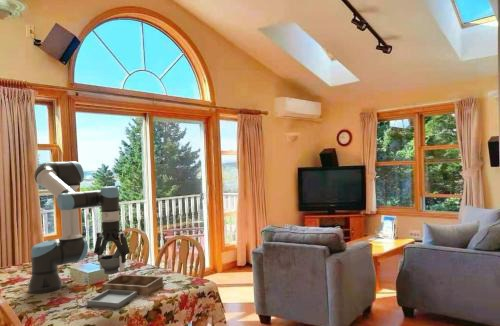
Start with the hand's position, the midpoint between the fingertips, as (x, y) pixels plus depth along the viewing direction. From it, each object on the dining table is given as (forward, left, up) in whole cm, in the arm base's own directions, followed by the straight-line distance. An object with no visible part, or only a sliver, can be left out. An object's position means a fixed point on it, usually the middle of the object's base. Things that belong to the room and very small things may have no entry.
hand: (112, 269), depth 178 cm
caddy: (0, +17, -15) cm, 23 cm away
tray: (0, 0, -15) cm, 15 cm away
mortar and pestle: (0, 0, -1) cm, 1 cm away
